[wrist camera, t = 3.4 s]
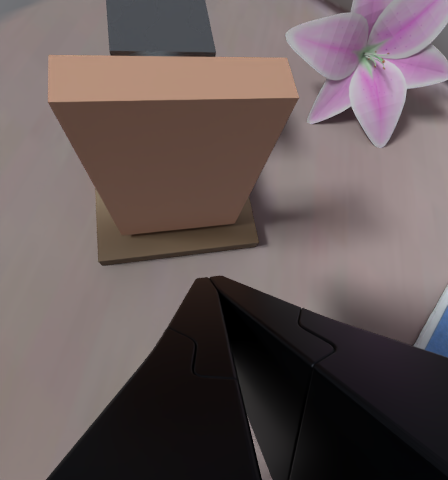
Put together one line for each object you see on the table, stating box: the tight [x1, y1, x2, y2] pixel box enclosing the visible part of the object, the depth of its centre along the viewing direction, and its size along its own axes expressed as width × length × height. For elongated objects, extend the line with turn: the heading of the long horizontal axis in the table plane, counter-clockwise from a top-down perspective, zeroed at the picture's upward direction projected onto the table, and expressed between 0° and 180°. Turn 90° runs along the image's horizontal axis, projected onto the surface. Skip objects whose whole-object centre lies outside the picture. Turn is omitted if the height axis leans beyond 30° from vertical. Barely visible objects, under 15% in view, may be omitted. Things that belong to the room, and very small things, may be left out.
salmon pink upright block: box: [48, 55, 299, 235], centre depth 14 cm, size 10×7×10 cm
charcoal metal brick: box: [106, 0, 216, 57], centre depth 18 cm, size 4×5×7 cm
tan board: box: [95, 188, 259, 266], centre depth 21 cm, size 14×10×1 cm
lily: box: [285, 0, 448, 148], centre depth 23 cm, size 12×12×10 cm
